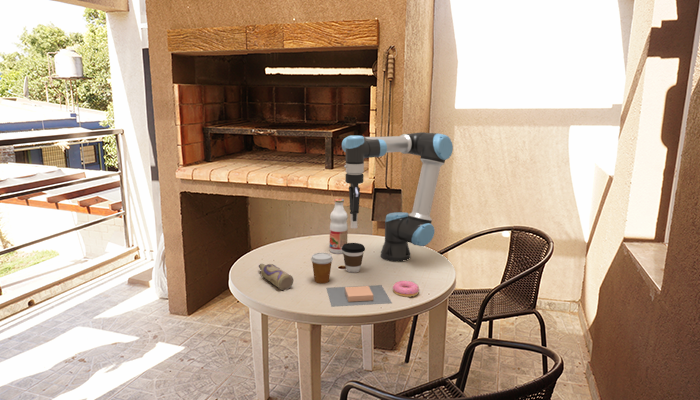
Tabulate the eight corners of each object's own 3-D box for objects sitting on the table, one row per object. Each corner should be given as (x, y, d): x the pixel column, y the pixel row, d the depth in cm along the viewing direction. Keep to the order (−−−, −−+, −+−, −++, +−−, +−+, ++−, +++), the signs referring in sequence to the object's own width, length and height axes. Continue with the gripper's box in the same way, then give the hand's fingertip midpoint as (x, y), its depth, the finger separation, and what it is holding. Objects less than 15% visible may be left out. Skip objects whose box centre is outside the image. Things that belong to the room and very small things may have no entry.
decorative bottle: (294, 288, 190) (294, 273, 189) (278, 292, 186) (278, 277, 185) (268, 269, 211) (268, 256, 209) (253, 272, 207) (252, 259, 205)
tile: (368, 286, 186) (373, 295, 178) (368, 291, 187) (373, 301, 178) (344, 287, 185) (348, 296, 176) (344, 292, 185) (348, 302, 176)
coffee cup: (336, 270, 211) (336, 245, 209) (352, 264, 219) (352, 240, 217) (353, 276, 204) (354, 251, 202) (369, 270, 212) (370, 246, 209)
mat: (381, 286, 194) (381, 285, 194) (392, 304, 177) (392, 303, 176) (326, 289, 190) (326, 287, 190) (331, 308, 173) (331, 306, 172)
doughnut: (387, 291, 189) (387, 282, 188) (405, 285, 195) (406, 276, 195) (405, 301, 180) (406, 291, 180) (424, 294, 187) (424, 285, 186)
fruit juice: (348, 253, 234) (349, 201, 228) (330, 254, 233) (331, 201, 227) (345, 248, 243) (346, 197, 237) (328, 248, 242) (329, 197, 236)
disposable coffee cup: (324, 287, 191) (324, 261, 188) (306, 282, 196) (306, 256, 193) (336, 280, 199) (337, 255, 196) (319, 276, 204) (319, 250, 201)
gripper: (343, 170, 192) (342, 224, 198) (348, 176, 180) (347, 232, 185) (360, 170, 194) (359, 223, 199) (366, 175, 181) (365, 231, 186)
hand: (353, 227), depth 192 cm, fingers closed
